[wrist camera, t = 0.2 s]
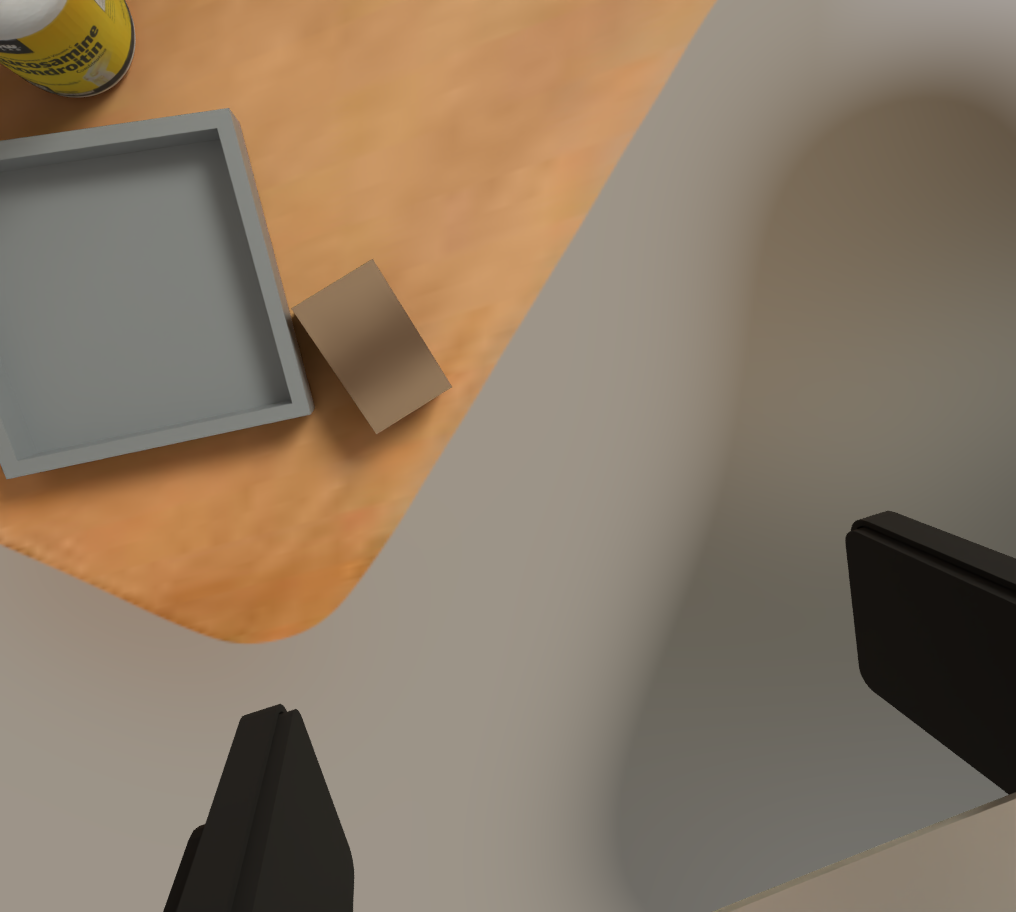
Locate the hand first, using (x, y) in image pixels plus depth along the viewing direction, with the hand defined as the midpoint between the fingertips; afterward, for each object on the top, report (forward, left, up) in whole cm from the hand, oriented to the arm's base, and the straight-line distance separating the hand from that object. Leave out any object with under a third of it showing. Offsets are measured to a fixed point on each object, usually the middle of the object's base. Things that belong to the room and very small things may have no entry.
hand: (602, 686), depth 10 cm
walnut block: (-5, -3, -31) cm, 31 cm away
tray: (-10, -15, -31) cm, 35 cm away
